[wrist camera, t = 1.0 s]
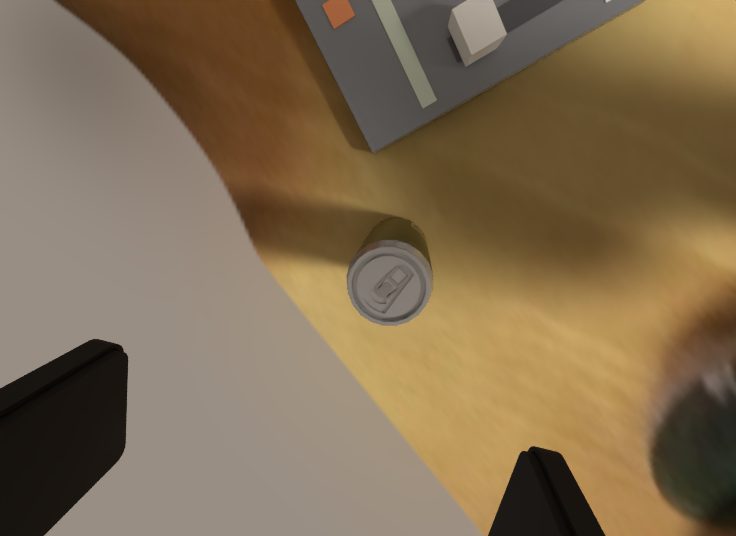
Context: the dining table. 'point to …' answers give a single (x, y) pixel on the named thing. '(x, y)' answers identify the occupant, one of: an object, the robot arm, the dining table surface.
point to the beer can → (391, 273)
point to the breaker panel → (438, 51)
